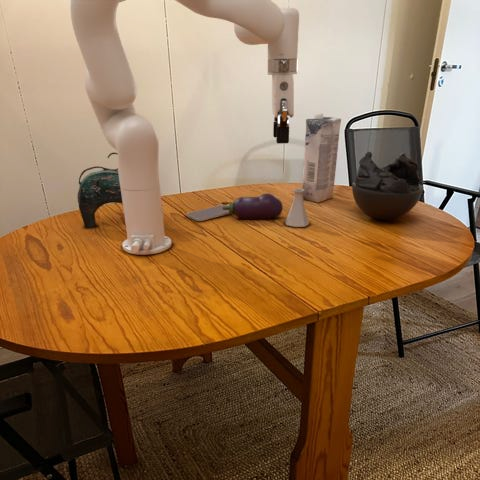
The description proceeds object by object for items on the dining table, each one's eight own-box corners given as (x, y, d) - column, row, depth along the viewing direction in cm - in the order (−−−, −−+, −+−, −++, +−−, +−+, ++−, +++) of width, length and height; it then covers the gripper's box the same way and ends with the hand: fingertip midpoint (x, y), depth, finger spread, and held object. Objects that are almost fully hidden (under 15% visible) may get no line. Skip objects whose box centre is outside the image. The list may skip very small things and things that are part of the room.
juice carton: (336, 198, 155) (345, 113, 142) (319, 204, 149) (326, 116, 135) (315, 193, 161) (321, 111, 147) (297, 199, 154) (302, 114, 140)
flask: (282, 226, 129) (284, 192, 124) (287, 219, 135) (289, 185, 130) (307, 228, 127) (309, 193, 122) (311, 221, 133) (313, 187, 128)
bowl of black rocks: (430, 221, 133) (445, 155, 123) (386, 234, 123) (398, 163, 114) (378, 205, 147) (387, 145, 138) (334, 216, 137) (341, 152, 128)
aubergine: (283, 221, 133) (284, 196, 130) (222, 222, 133) (222, 197, 129) (281, 214, 140) (281, 190, 136) (223, 214, 139) (222, 191, 136)
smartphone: (185, 213, 138) (224, 204, 146) (185, 216, 138) (224, 207, 146) (198, 219, 133) (238, 209, 141) (198, 222, 133) (238, 212, 141)
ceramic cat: (149, 217, 138) (141, 149, 128) (152, 223, 132) (144, 152, 122) (82, 224, 132) (68, 153, 122) (82, 230, 127) (68, 157, 117)
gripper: (302, 68, 104) (298, 145, 113) (293, 66, 119) (290, 134, 128) (270, 69, 104) (269, 146, 113) (265, 67, 119) (264, 135, 128)
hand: (280, 140), depth 121 cm, fingers open, 9 cm apart
